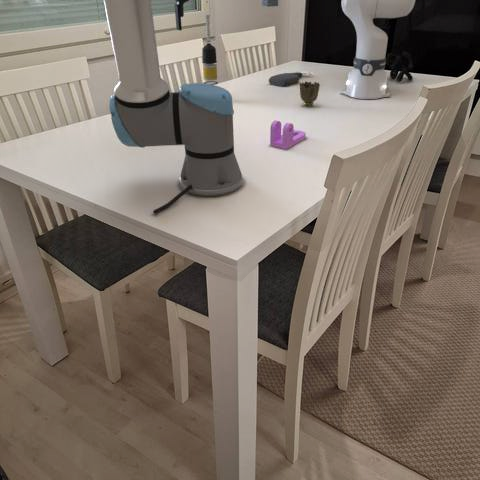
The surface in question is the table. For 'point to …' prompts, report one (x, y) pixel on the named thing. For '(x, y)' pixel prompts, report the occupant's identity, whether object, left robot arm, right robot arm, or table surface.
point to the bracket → (284, 135)
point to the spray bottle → (288, 78)
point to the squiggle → (399, 66)
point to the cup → (309, 92)
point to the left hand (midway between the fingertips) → (156, 31)
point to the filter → (209, 58)
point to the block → (269, 3)
